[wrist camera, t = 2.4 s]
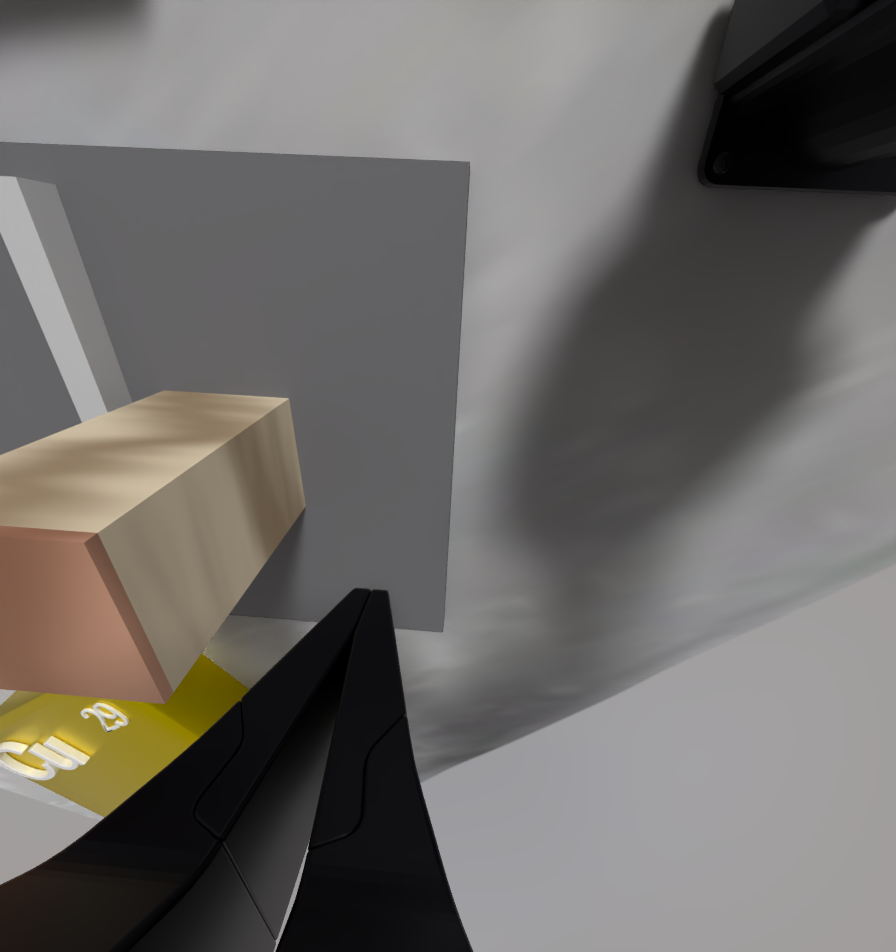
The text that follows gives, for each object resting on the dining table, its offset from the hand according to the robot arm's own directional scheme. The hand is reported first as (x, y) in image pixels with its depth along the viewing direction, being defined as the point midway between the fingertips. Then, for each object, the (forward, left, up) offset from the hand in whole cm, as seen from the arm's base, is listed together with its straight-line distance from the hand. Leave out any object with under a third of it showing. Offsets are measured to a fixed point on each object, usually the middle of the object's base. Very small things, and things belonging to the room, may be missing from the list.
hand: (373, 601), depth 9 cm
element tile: (+18, +22, -9) cm, 30 cm away
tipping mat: (+11, 0, -8) cm, 13 cm away
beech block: (+8, 0, -8) cm, 11 cm away
